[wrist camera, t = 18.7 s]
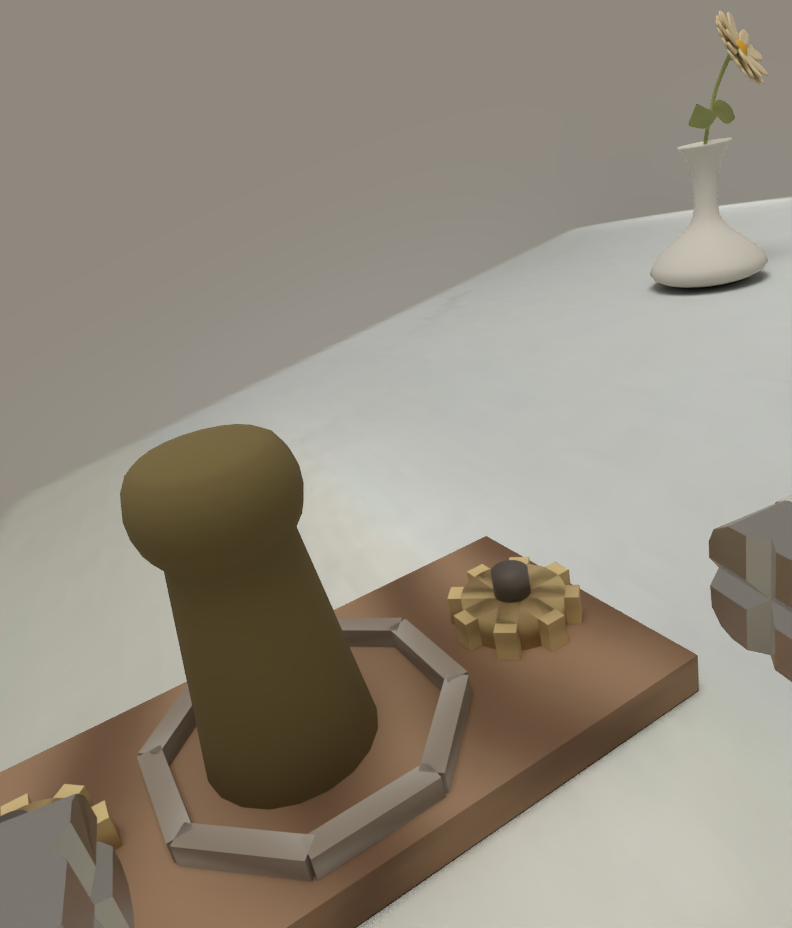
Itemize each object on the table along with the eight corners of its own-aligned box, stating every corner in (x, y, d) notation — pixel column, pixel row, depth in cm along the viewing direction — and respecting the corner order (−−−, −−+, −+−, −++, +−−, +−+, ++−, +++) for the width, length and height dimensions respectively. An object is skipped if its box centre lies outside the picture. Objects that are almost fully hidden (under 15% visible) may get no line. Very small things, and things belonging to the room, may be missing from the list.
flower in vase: (720, 299, 70) (715, 1, 60) (628, 293, 79) (610, 34, 70) (801, 266, 76) (808, -12, 66) (706, 264, 85) (700, 20, 75)
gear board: (490, 563, 35) (479, 495, 34) (698, 690, 25) (695, 601, 24) (-52, 837, 26) (-99, 759, 24) (-62, 1214, 16) (-143, 1120, 14)
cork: (184, 730, 26) (73, 452, 22) (332, 653, 29) (258, 390, 24) (237, 845, 21) (107, 514, 17) (411, 741, 24) (336, 428, 19)
